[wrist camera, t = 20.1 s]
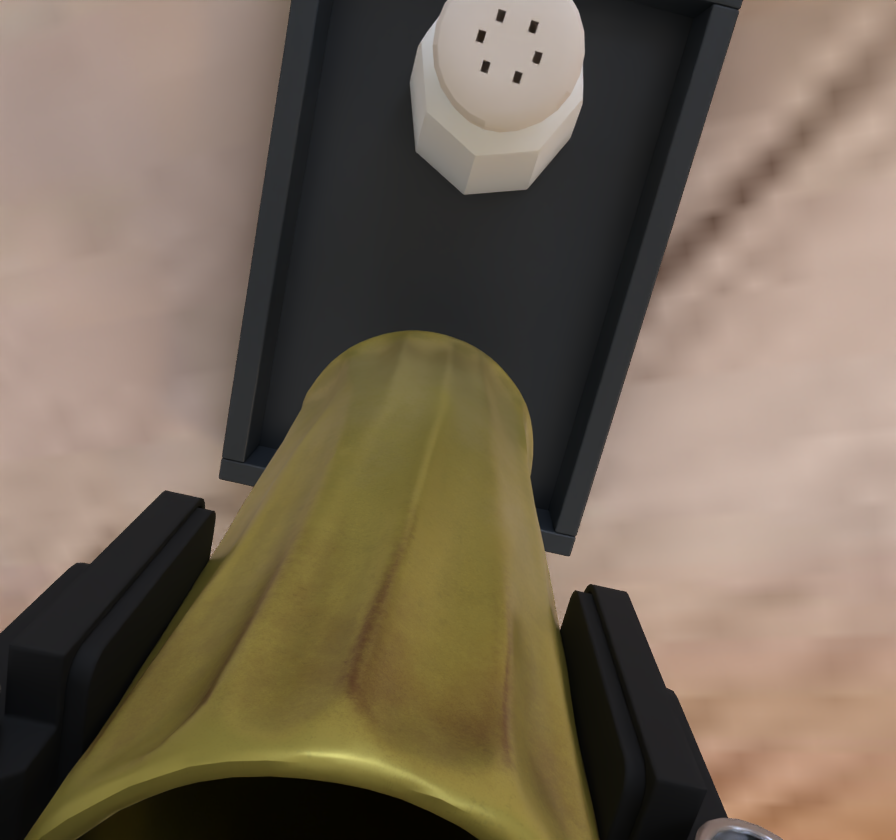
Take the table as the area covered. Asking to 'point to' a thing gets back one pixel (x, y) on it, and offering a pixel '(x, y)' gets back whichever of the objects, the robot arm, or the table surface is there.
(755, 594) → the table surface
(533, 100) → the salt shaker
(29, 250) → the table surface
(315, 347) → the tray
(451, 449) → the vase
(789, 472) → the table surface
